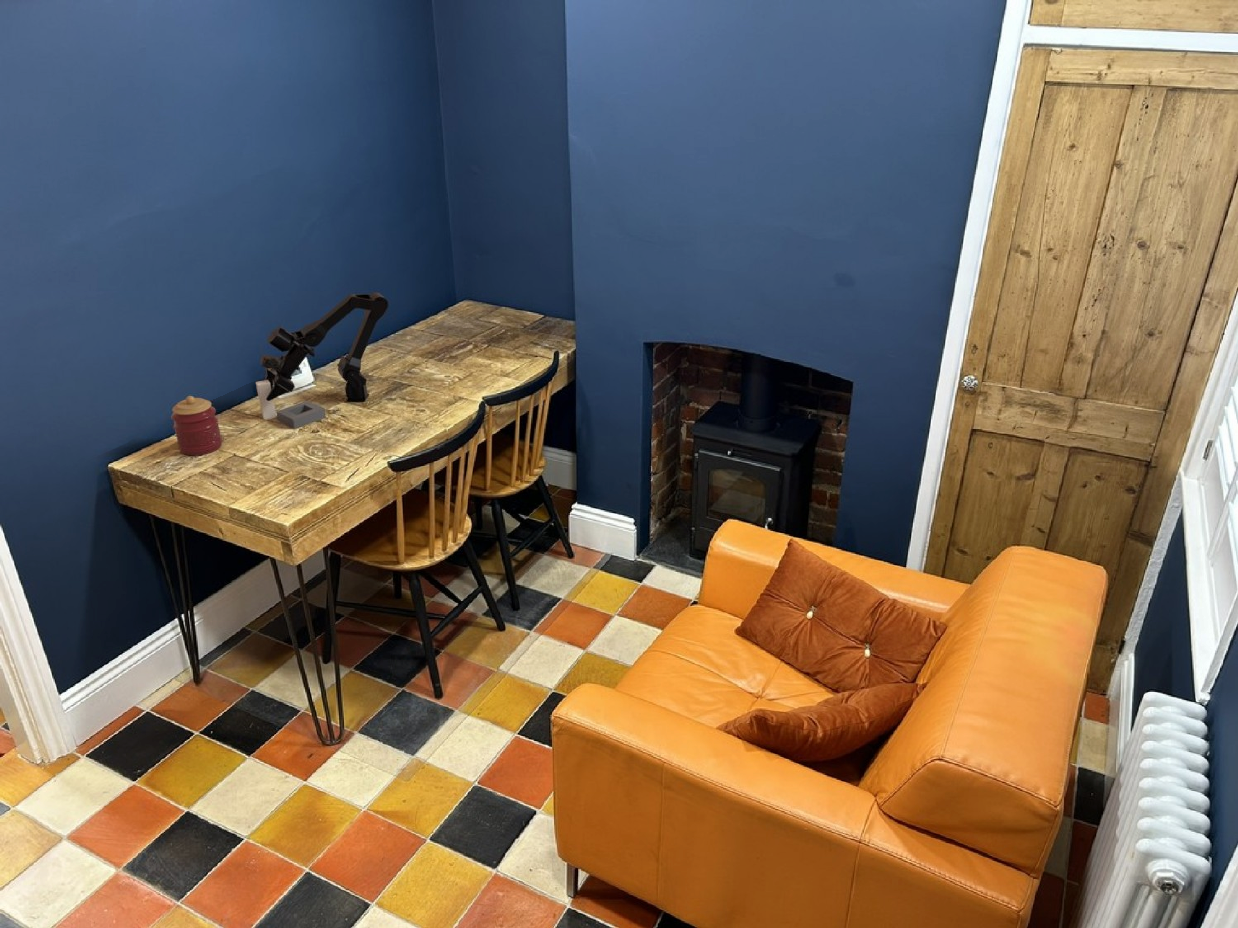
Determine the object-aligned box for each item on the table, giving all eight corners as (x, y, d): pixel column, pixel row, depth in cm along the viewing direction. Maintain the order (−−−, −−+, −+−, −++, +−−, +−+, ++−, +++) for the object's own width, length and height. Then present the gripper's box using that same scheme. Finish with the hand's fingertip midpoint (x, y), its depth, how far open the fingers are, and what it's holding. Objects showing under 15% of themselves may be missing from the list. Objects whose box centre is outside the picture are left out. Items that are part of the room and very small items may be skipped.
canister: (198, 459, 292) (185, 407, 284) (170, 451, 297) (157, 399, 289) (232, 443, 302) (221, 393, 294) (204, 435, 307) (193, 385, 299)
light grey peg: (274, 413, 323) (267, 379, 317) (276, 417, 320) (270, 383, 314) (262, 415, 321) (255, 382, 315) (264, 419, 318) (257, 385, 312)
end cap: (309, 409, 325) (307, 400, 323) (325, 417, 319) (324, 408, 318) (278, 421, 317) (276, 411, 315) (294, 429, 311) (293, 419, 310)
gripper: (267, 337, 319) (238, 374, 319) (278, 354, 304) (249, 392, 304) (294, 355, 326) (266, 391, 326) (307, 372, 311) (278, 410, 311)
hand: (264, 395), depth 317 cm, fingers open, 9 cm apart
